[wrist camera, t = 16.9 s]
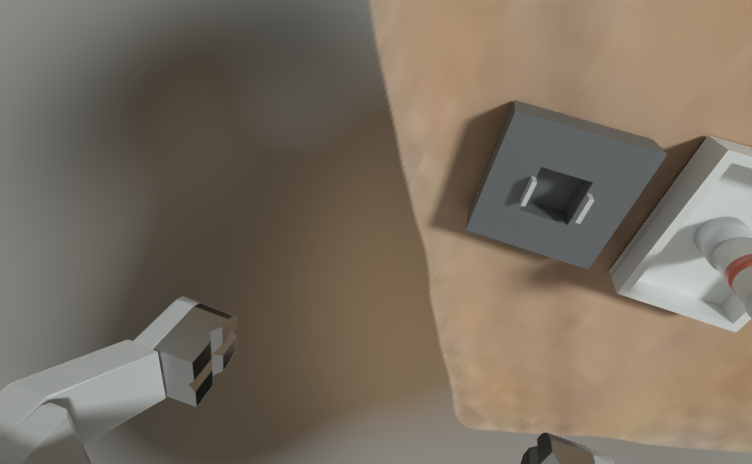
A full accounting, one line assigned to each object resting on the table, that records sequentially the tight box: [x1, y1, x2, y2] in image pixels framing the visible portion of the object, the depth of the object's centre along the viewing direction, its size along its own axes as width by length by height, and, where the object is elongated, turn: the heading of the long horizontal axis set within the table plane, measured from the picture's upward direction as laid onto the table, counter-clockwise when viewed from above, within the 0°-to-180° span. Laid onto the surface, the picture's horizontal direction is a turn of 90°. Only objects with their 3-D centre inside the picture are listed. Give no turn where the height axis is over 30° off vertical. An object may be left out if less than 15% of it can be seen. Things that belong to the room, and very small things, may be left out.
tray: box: [609, 135, 752, 332], centre depth 34 cm, size 15×11×4 cm
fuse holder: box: [466, 100, 668, 270], centre depth 35 cm, size 12×12×5 cm
